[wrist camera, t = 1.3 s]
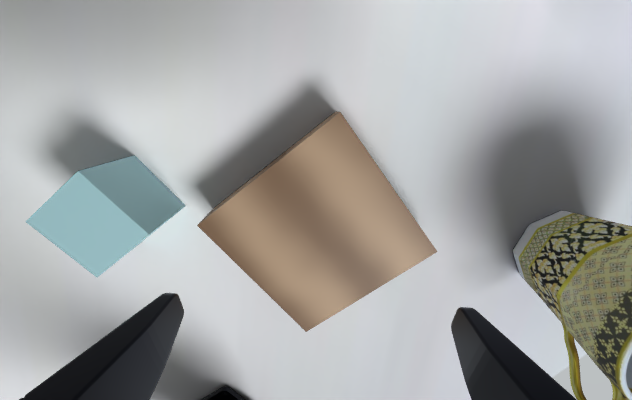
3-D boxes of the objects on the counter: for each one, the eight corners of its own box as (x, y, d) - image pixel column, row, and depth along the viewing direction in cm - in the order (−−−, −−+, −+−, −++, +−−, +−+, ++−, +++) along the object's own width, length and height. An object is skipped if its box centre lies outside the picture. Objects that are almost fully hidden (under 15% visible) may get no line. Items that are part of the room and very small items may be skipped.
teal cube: (143, 240, 21) (97, 277, 17) (92, 194, 20) (25, 221, 15) (186, 205, 20) (148, 234, 16) (135, 155, 19) (78, 170, 14)
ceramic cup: (533, 176, 20) (729, 236, 11) (638, 210, 21) (900, 292, 12) (455, 305, 24) (548, 432, 15) (547, 328, 25) (687, 459, 16)
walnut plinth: (306, 305, 24) (306, 331, 21) (212, 209, 20) (197, 225, 18) (420, 232, 22) (437, 251, 19) (335, 111, 18) (340, 112, 15)
